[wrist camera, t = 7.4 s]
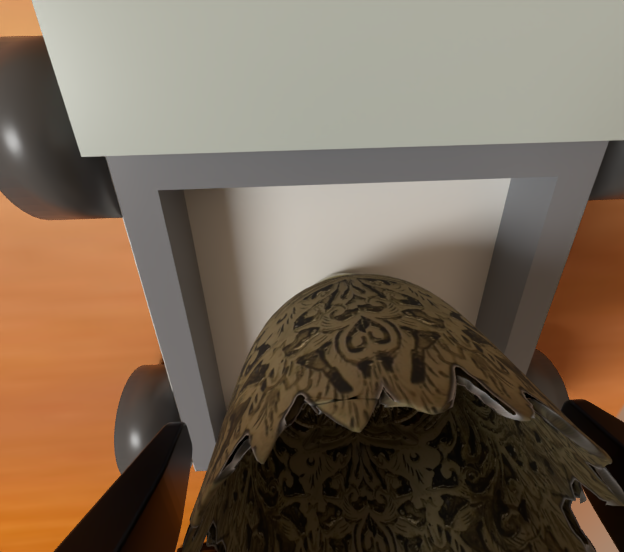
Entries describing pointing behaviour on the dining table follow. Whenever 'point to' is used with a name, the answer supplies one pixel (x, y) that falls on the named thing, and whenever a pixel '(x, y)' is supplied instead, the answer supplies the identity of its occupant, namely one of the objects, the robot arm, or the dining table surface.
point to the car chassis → (315, 163)
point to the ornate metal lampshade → (391, 436)
